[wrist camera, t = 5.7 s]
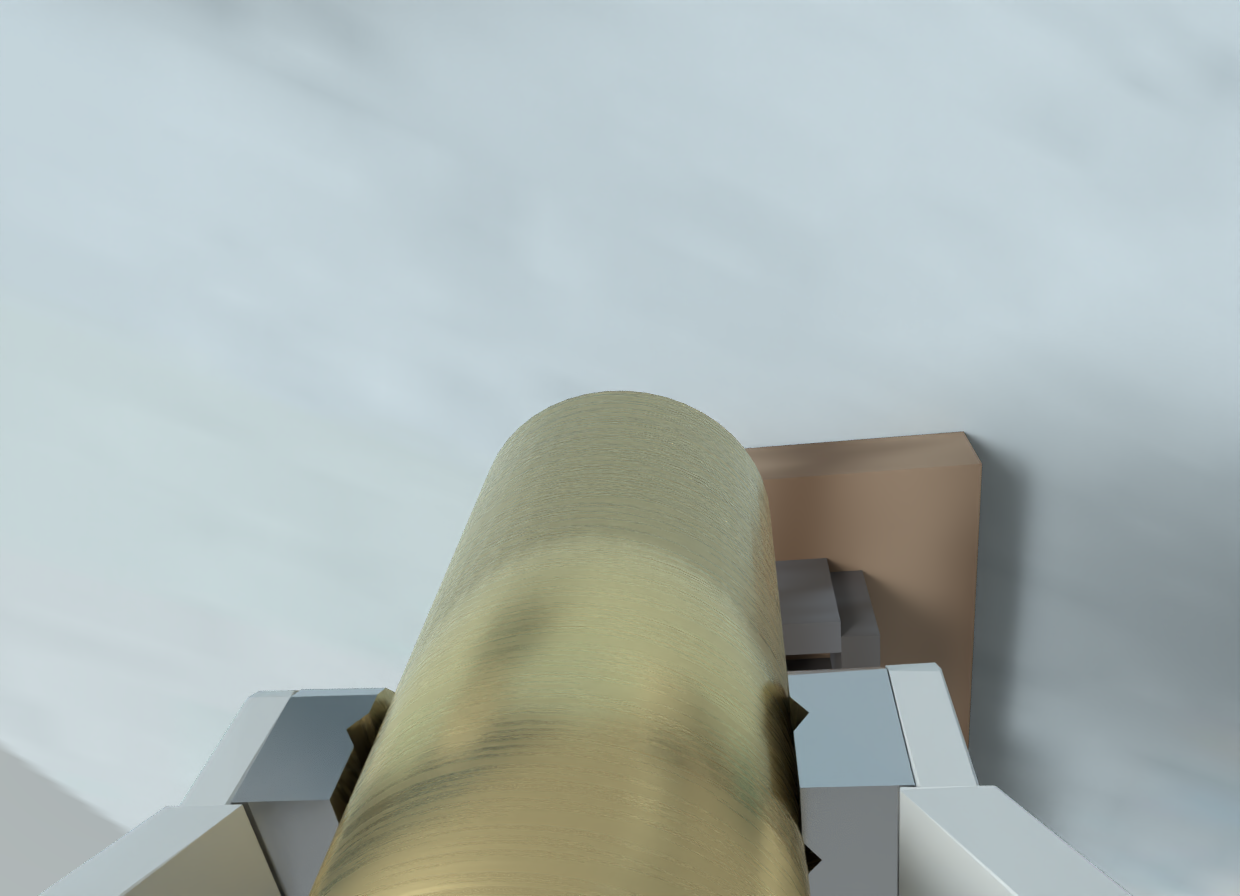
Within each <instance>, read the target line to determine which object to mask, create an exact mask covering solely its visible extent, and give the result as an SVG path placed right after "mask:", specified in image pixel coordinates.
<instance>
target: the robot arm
mask: <svg viewBox="0 0 1240 896" xmlns="http://www.w3.org/2000/svg"><path fill="white" fill-rule="evenodd" d="M787 691H788V705H789V715H790V726H791V736H792V744H793V747H794V751H795V771H796V784H797V794H798V803H799V812H800V821H801V830H802V838H803V841H804V844H805V848H806V857H807V867H808V876H809V886H810V895H811V896H1132V895H1131V894H1130V893H1129V892H1127V891H1126V890H1125V889H1124V888H1122V887H1121V886H1120V885H1119V884H1117V883H1116V882H1115V881H1114V880H1113V879H1111V878H1110V877H1109V876H1108V875H1106V874H1105V873H1104V872H1103V871H1101V870H1100V869H1099V868H1098V867H1096V866H1095V865H1094V864H1093V863H1091V862H1090V861H1089V860H1088V859H1086V858H1085V857H1084V856H1083V855H1081V854H1080V853H1079V852H1078V851H1076V850H1075V849H1074V848H1073V847H1071V846H1070V845H1069V844H1068V843H1067V842H1065V841H1064V840H1063V839H1062V838H1060V837H1059V836H1058V835H1057V834H1055V833H1054V832H1053V831H1052V830H1050V829H1049V828H1048V827H1047V826H1045V825H1044V824H1043V823H1042V822H1040V821H1039V820H1038V819H1037V818H1035V817H1034V816H1033V815H1032V814H1030V813H1029V812H1028V811H1027V810H1025V809H1024V808H1023V807H1022V806H1021V805H1019V804H1018V803H1017V802H1016V801H1014V800H1013V799H1012V798H1011V797H1009V796H1008V795H1007V794H1006V793H1004V792H1003V791H1002V790H1001V789H999V788H998V787H997V786H994V785H993V786H979V783H978V780H977V776H976V773H975V770H974V767H973V764H972V761H971V758H970V755H969V752H968V749H967V746H966V743H965V740H964V737H963V734H962V731H961V728H960V724H959V721H958V718H957V715H956V712H955V709H954V706H953V703H952V700H951V697H950V694H949V691H948V688H947V685H946V682H945V679H944V676H943V672H942V669H941V668H940V667H939V666H938V665H937V664H936V663H935V662H934V663H917V664H901V665H886V666H885V668H884V667H865V668H844V669H823V670H803V671H787ZM394 694H395V692H393V691H391V690H389V689H387V688H353V689H301V690H300V691H296V690H288V691H258V692H256V693H255V694H253V695H251V696H250V697H248V698H247V699H246V700H245V702H244V703H243V705H242V707H241V708H240V710H239V711H238V713H237V715H236V716H235V718H234V719H233V721H232V723H231V724H230V726H229V727H228V729H227V731H226V732H225V734H224V735H223V737H222V738H221V740H220V742H219V743H218V745H217V746H216V748H215V750H214V751H213V753H212V754H211V756H210V758H209V759H208V761H207V762H206V764H205V766H204V767H203V769H202V770H201V772H200V774H199V775H198V777H197V778H196V780H195V781H194V783H193V785H192V786H191V788H190V789H189V791H188V793H187V794H186V796H185V797H184V799H183V801H182V802H181V804H180V805H179V806H165V807H164V808H163V809H161V810H160V811H158V812H157V813H155V814H154V815H153V816H151V817H150V818H148V819H147V820H145V821H144V822H142V823H141V824H140V825H138V826H137V827H135V828H134V829H132V830H131V831H130V832H128V833H127V834H125V835H124V836H122V837H121V838H119V839H118V840H117V841H116V842H114V843H113V844H111V845H109V846H108V847H107V848H105V849H104V850H102V851H101V852H99V853H98V854H96V855H95V856H94V857H92V858H91V859H89V860H88V861H87V862H85V863H84V864H82V865H81V866H79V867H78V868H76V869H75V870H74V871H72V872H71V873H69V874H68V875H66V876H65V877H64V878H62V879H61V880H59V881H58V882H56V883H55V884H53V885H52V886H51V887H49V888H48V889H46V890H45V891H43V892H42V893H40V894H39V895H38V896H309V893H310V891H311V889H312V886H313V884H314V882H315V879H316V877H317V875H318V872H319V870H320V868H321V865H322V863H323V861H324V858H325V856H326V854H327V851H328V849H329V847H330V844H331V842H332V839H333V837H334V835H335V832H336V830H337V828H338V825H339V823H340V821H341V818H342V816H343V814H344V811H345V809H346V807H347V804H348V802H349V800H350V797H351V795H352V792H353V790H354V788H355V785H356V783H357V781H358V778H359V776H360V774H361V771H362V769H363V767H364V764H365V762H366V760H367V757H368V755H369V753H370V750H371V748H372V746H373V743H374V741H375V738H376V736H377V734H378V731H379V729H380V727H381V724H382V722H383V720H384V717H385V715H386V713H387V710H388V708H389V706H390V703H391V701H392V699H393V696H394Z"/></svg>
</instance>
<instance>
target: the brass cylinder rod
mask: <svg viewBox="0 0 1240 896" xmlns="http://www.w3.org/2000/svg"><path fill="white" fill-rule="evenodd" d="M309 896H811V895H810V886H809V876H808V867H807V857H806V848H805V844H804V841H803V838H802V830H801V821H800V812H799V803H798V794H797V784H796V771H795V751H794V747H793V744H792V736H791V726H790V715H789V705H788V691H787V668H786V658H785V649H784V639H783V630H782V620H781V611H780V601H779V592H778V582H777V573H776V563H775V554H774V545H773V535H772V526H771V516H770V508H769V501H768V496H767V492H766V489H765V486H764V482H763V480H762V477H761V475H760V473H759V471H758V469H757V467H756V465H755V463H754V462H753V460H752V459H751V457H750V456H749V454H748V453H747V451H746V450H745V449H744V447H743V446H742V445H741V444H740V443H739V442H738V441H737V440H736V438H735V437H734V436H733V435H732V434H731V433H729V432H728V431H727V430H726V429H725V428H724V427H722V426H721V425H720V424H719V423H717V422H716V421H714V420H713V419H711V418H710V417H708V416H707V415H705V414H704V413H702V412H700V411H698V410H696V409H694V408H692V407H690V406H688V405H686V404H684V403H681V402H678V401H675V400H672V399H669V398H667V397H663V396H658V395H653V394H649V393H642V392H632V391H605V392H598V393H591V394H585V395H581V396H578V397H574V398H570V399H567V400H565V401H562V402H560V403H557V404H555V405H553V406H550V407H548V408H547V409H545V410H543V411H542V412H540V413H538V414H536V415H535V416H533V417H532V418H531V419H529V420H528V421H527V422H526V423H524V424H523V425H522V426H520V427H519V428H518V429H517V430H516V432H515V433H514V434H513V435H512V436H511V437H510V438H509V439H508V440H507V441H506V443H505V444H504V446H503V447H502V448H501V450H500V451H499V453H498V454H497V456H496V458H495V460H494V462H493V464H492V466H491V468H490V471H489V473H488V475H487V478H486V480H485V483H484V485H483V487H482V490H481V492H480V494H479V497H478V499H477V501H476V504H475V506H474V508H473V511H472V513H471V515H470V518H469V520H468V522H467V525H466V527H465V529H464V532H463V534H462V537H461V539H460V541H459V544H458V546H457V548H456V551H455V553H454V555H453V558H452V560H451V562H450V565H449V567H448V569H447V572H446V574H445V576H444V579H443V581H442V583H441V586H440V588H439V591H438V593H437V595H436V598H435V600H434V602H433V605H432V607H431V609H430V612H429V614H428V616H427V619H426V621H425V623H424V626H423V628H422V630H421V633H420V635H419V638H418V640H417V642H416V645H415V647H414V649H413V652H412V654H411V656H410V659H409V661H408V663H407V666H406V668H405V670H404V673H403V675H402V677H401V680H400V682H399V684H398V687H397V689H396V692H395V694H394V696H393V699H392V701H391V703H390V706H389V708H388V710H387V713H386V715H385V717H384V720H383V722H382V724H381V727H380V729H379V731H378V734H377V736H376V738H375V741H374V743H373V746H372V748H371V750H370V753H369V755H368V757H367V760H366V762H365V764H364V767H363V769H362V771H361V774H360V776H359V778H358V781H357V783H356V785H355V788H354V790H353V792H352V795H351V797H350V800H349V802H348V804H347V807H346V809H345V811H344V814H343V816H342V818H341V821H340V823H339V825H338V828H337V830H336V832H335V835H334V837H333V839H332V842H331V844H330V847H329V849H328V851H327V854H326V856H325V858H324V861H323V863H322V865H321V868H320V870H319V872H318V875H317V877H316V879H315V882H314V884H313V886H312V889H311V891H310V893H309Z"/></svg>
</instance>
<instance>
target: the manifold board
mask: <svg viewBox="0 0 1240 896" xmlns="http://www.w3.org/2000/svg"><path fill="white" fill-rule="evenodd" d="M745 450H746V451H747V453H748V454H749V456H750V457H751V459H752V460H753V462H754V463H755V465H756V467H757V469H758V471H759V473H760V475H761V477H762V480H763V482H764V486H765V489H766V492H767V496H768V501H769V508H770V516H771V526H772V535H773V545H774V554H775V563H776V573H777V582H778V592H779V601H780V611H781V620H782V630H783V639H784V649H785V658H786V668H787V671H803V670H823V669H844V668H865V667H884V668H885V666H886V665H901V664H917V663H934V662H935V663H936V664H937V665H938V666H939V667H940V668H941V669H942V672H943V676H944V679H945V682H946V685H947V688H948V691H949V694H950V697H951V700H952V703H953V706H954V709H955V712H956V715H957V718H958V721H959V724H960V728H961V731H962V734H963V737H964V740H965V743H966V746H967V749H968V744H969V723H970V702H971V681H972V660H973V640H974V619H975V598H976V577H977V557H978V536H979V515H980V494H981V474H982V463H981V461H980V459H979V458H978V456H977V454H976V452H975V451H974V449H973V447H972V445H971V444H970V442H969V440H968V439H967V437H966V435H965V433H964V432H952V433H939V434H926V435H913V436H901V437H888V438H875V439H862V440H849V441H837V442H824V443H811V444H798V445H785V446H772V447H760V448H747V449H745Z"/></svg>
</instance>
